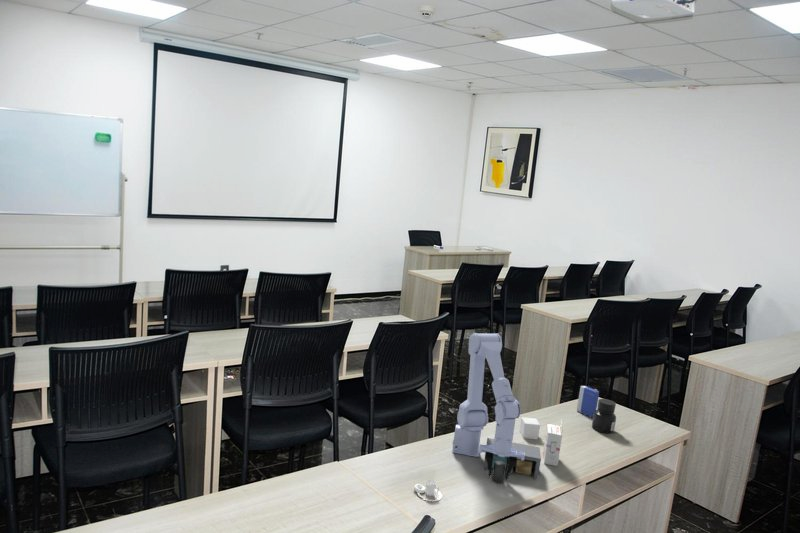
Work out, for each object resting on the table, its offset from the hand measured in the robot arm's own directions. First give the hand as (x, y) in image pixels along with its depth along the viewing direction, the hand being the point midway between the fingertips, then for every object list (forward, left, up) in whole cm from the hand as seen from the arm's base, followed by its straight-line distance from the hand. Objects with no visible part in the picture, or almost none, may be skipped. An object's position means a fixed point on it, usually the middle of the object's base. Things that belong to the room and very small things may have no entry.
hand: (498, 476), depth 190 cm
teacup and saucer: (-21, -14, -2) cm, 25 cm away
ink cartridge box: (+18, +23, -2) cm, 29 cm away
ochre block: (+8, +11, -2) cm, 14 cm away
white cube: (+11, +42, -2) cm, 44 cm away
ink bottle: (+42, +62, -2) cm, 75 cm away
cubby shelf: (+4, +11, -2) cm, 12 cm away
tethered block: (0, +6, -2) cm, 6 cm away
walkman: (+37, +77, -2) cm, 86 cm away
